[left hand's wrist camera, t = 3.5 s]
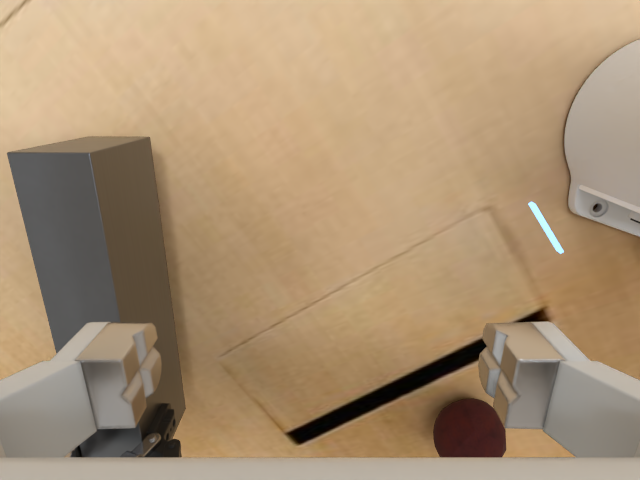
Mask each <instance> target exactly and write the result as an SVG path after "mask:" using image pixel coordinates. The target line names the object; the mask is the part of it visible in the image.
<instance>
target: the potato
mask: <svg viewBox="0 0 640 480" xmlns="http://www.w3.org/2000/svg"><path fill="white" fill-rule="evenodd" d="M433 433H434V443H435V447H436V450H437V452H438V454H439V456H440V457H502V456H503V455H504V453H505V451H506V436H505V428H504V426H503V424H502V422H501V420H500V418H499V416H498V414H497V413H496V411H495V410H494V408H493V407H491V406H490V405H489V404H487V403H486V402H484V401H482V400H477V399H462V400H459V401H457V402H453V403H451V404H450V405H448V406H447V407H445V408H444V409H443V410H442V411H441V412H440V414H439V416H438V417H437V419H436V421H435V425H434V432H433Z"/></svg>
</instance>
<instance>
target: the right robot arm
mask: <svg viewBox="0 0 640 480" xmlns="http://www.w3.org/2000/svg"><path fill="white" fill-rule="evenodd" d="M175 428H176V420H175V413H174V409H171V404H170V403H162V404H161V406H160V408H159V410H158V411H157V413H156V415H155V417H154V419H153V421H152V423H151V425H150V427H149V429H148V431H147V437H146V438H145V439H144V440H143V441H142V442H141V443H140V444H139V445H138V446H137V447H136V448H135V449H133V450H132V451H131V452H130V451H126V452H124V453H123V454H122V455H121V456H120V457H182V456H181V444H180V441H179V440H177V439H172V440H170V439H171V437H172V434H173V432H174V430H175ZM65 457H82V454H81V450H80V446H77V447H76V448H75V449H74V450H72V451H71V452H70V453H69V454H67V455H66V456H65Z"/></svg>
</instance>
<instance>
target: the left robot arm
mask: <svg viewBox="0 0 640 480" xmlns="http://www.w3.org/2000/svg"><path fill="white" fill-rule="evenodd" d="M564 148H565V155H566V160H567V163H568V167H569V170H570V175H571V184H570V190H569V197H568V206H569V209H570V210H571V212H573V213H574V214H577V215H579V216H582V217H585V218H588V219H591V220H593V221H596V222H599V223H602V224H605V225H608V226H610V227H613V228H616V229H619V230H622V231H624V232H627V233H630V234H633V235H636V236H638V237H640V39H638V40H636V41H634V42H632V43H630V44H628V45H626V46H624V47H622V48H621V49H619V50H617V51H616V52H615V53H613V54H612V55H610V56H609V57H608V58H607V59H606V60H604V61H603V62H602V63H601V64H600V65H599V66H598V67H597V68H596V69H595V70H594V71H593V72H592V73H591V75H590V76H589V77H588V78H587V80H586V81H585V83H584V84H583V85H582V87H581V89H580V90H579V92H578V94H577V95H576V97H575V99H574V101H573V104H572V106H571V109H570V111H569V114H568V118H567V122H566V127H565V134H564ZM595 204H597V207H596V208H595V209H594V210H593V206H594V205H595ZM529 206H530V208H531V209H532V211H533V213H534V214H535V216H536V218H537V219H538V221H539V223H540V224H541V226H542V228H543V229H544V231H545V233H546V234H547V236H548V238H549V239H550V241H551V243H552V244H553V246H554V248H555V249H556V251H557V252H559V253H560V254H561V253H563V252H564V251H563V249H562V248H561V246H560V244H559V243H558V241H557V239H556V237H555V236H554V234H553V232H552V231H551V229H550V227H549V226H548V224H547V222H546V221H545V219H544V217H543V216H542V214H541V212H540V211H539V209H538V207H537V206H536V204H535V203H533V202H530V203H529ZM157 339H158V337H157V332H156V327H155V326H154V325H153V324H152V323H136V322H90V323H87V324H86V325H85V326H84V327H83V328H82V329H81V330H80V331H79V332H78V333H77V334H76V335H75V336H74V337H73V338H72V339H71V340H70V341H69V342H68V343H67V344H66V345H65V346H64V347H63V348H62V349H61V350H60V351H59V352H58V353H57V354H56V355H55V356H54V357H53V358H52V359H51V360H50V361H42V362H39V363H37V364H35V365H33V366H30V367H28V368H26V369H24V370H22V371H19V372H17V373H15V374H13V375H11V376H8V377H6V378H4V379H2V380H0V480H640V380H638V379H636V378H634V377H632V376H629V375H627V374H625V373H623V372H621V371H618V370H616V369H614V368H612V367H609V366H607V365H605V364H603V363H601V362H598V361H590V360H589V359H588V358H587V357H586V356H585V355H584V354H583V353H582V352H581V351H580V350H579V349H578V348H577V347H576V346H575V345H574V344H573V343H572V342H571V341H570V340H569V339H568V338H567V337H566V336H565V335H564V334H563V333H562V332H561V331H560V330H559V329H558V328H557V327H556V325H555V324H553V323H551V322H524V323H488V324H486V326H485V328H484V331H483V337H482V339H483V340H484V342H485V344H486V345H487V347H486V348H485V349H484V350H483V351H482V352H481V353H480V356H479V364H478V367H479V377H480V381H481V384H482V386H483V388H484V390H485V392H486V393H487V394H488V395H490V396H491V397H493V398H494V404H493V407H494V409H495V411H496V413H497V414H498V416H499V418H500V420H501V422H502V424H503V425H504V427H505V428H519V429H543V431H544V432H545V433H546V434H548V435H549V436H550V437H551V438H553V439H554V440H555V441H556V442H558V443H559V444H560V445H562V446H563V447H564V448H565V449H567V450H568V451H569V452H570V453H572V454H573V455H574V456H575V457H65V456H66V455H67V454H69V453H70V452H71V451H72V450H74V449H75V448H76V447H77V446H79V445H80V444H81V443H82V442H84V441H85V440H86V439H87V438H89V437H90V436H91V435H93V434H94V433H95V432H96V431H97V429H120V428H135V427H136V425H137V424H138V422H139V420H140V418H141V416H142V414H143V413H144V411H145V409H146V407H147V404H146V398H147V397H149V396H150V395H152V394H153V393H154V392H155V390H156V388H157V386H158V384H159V380H160V376H161V356H160V353H159V352H158V351H157V350H156V349H155V348H154V347H153V345H154V344H155V342H156V340H157Z"/></svg>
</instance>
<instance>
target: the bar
mask: <svg viewBox="0 0 640 480" xmlns="http://www.w3.org/2000/svg"><path fill="white" fill-rule="evenodd" d="M7 155H8V159H9V163H10V167H11V171H12V175H13V180H14V184H15V188H16V192H17V196H18V200H19V204H20V208H21V212H22V216H23V220H24V224H25V228H26V232H27V236H28V240H29V244H30V248H31V252H32V256H33V260H34V264H35V268H36V272H37V276H38V281H39V285H40V289H41V293H42V297H43V301H44V305H45V309H46V313H47V317H48V321H49V325H50V329H51V333H52V337H53V341H54V345H55V349H56V353H58V352H59V351H60V350H61V349H62V348H63V347H64V346H65V345H66V344H67V343H68V342H69V341H70V340H71V339H72V338H73V337H74V336H75V335H76V334H77V333H78V332H79V331H80V330H81V329H82V328H83V327H84V326H85V325H86V324H87V323H90V322H136V323H152V324H153V325H154V326H155V327H156V332H157V337H158V339H157V340H156V342H155V344H154V345H153V347H154V348H155V349H156V350H157V351H158V352H159V353H160V356H161V376H160V380H159V384H158V386H157V388H156V390H155V392H154V393H153V394H152V395H150V396H149V397H147V398H146V404H147V407H146V409H145V411H144V413H143V414H142V416H141V418H140V420H139V422H138V424H137V425H136V427H135V428H120V429H97V431H96V432H95V433H94V434H93V435H91V436H90V437H89V438H87V439H86V440H85V441H84V442H82V443H81V444H80V445H79V446H80V450H81V454H82V457H120V456H121V455H122V454H123V453H124V452H126V451H130V452H131V451H132V450H133V449H135V448H136V447H137V446H138V445H139V444H140V443H141V442H142V441H143V440H144V439H145V438H146V437H147V431H148V429H149V427H150V425H151V423H152V421H153V419H154V417H155V415H156V413H157V411H158V410H159V408H160V406H161V404H162V403H170V404H171V409H174V413H175V420H176V428H175V430H174V432H173V434H172V437H171V439H170V440H172V438H173V436H174V434H175V432H176V429H177V427H178V425H179V422H180V420H181V418H182V416H183V413H184V411H185V409H186V408H185V400H184V392H183V385H182V377H181V370H180V362H179V355H178V347H177V339H176V332H175V324H174V317H173V309H172V301H171V294H170V286H169V279H168V271H167V264H166V256H165V248H164V241H163V233H162V226H161V218H160V210H159V203H158V195H157V188H156V180H155V173H154V165H153V157H152V150H151V142H150V137H84V138H79V139H74V140H69V141H64V142H59V143H53V144H48V145H43V146H38V147H33V148H28V149H22V150H17V151H12V152H8V153H7Z"/></svg>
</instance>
